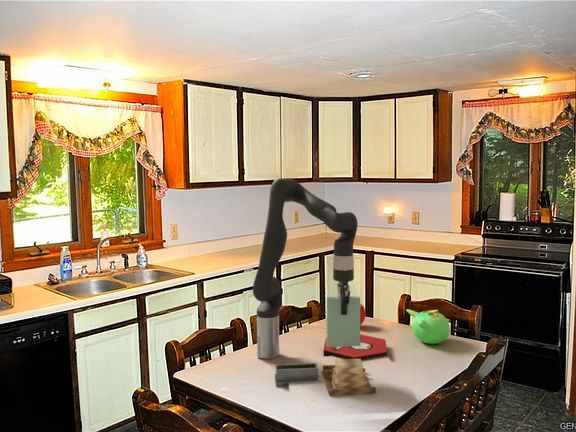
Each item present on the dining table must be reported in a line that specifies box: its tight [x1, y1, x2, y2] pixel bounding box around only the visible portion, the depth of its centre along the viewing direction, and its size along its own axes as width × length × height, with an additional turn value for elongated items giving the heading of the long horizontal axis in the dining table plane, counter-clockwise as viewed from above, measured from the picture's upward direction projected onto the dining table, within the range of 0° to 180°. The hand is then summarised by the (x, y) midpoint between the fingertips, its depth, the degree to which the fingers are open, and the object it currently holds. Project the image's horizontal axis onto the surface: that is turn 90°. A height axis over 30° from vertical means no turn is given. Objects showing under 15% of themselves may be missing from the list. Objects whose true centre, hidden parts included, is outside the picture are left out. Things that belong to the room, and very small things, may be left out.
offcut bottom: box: [332, 375, 367, 389], centre depth 186 cm, size 11×8×3 cm
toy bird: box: [405, 308, 451, 345], centre depth 235 cm, size 18×17×15 cm
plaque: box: [323, 333, 388, 361], centre depth 226 cm, size 27×4×30 cm
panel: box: [326, 295, 361, 347], centre depth 195 cm, size 12×2×18 cm, turn 94°
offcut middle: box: [333, 368, 367, 384], centre depth 186 cm, size 10×7×3 cm
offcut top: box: [334, 358, 364, 374], centre depth 186 cm, size 9×6×3 cm, turn 90°
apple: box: [360, 303, 366, 327], centre depth 259 cm, size 10×10×12 cm
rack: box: [320, 364, 377, 397], centre depth 191 cm, size 16×21×4 cm
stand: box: [274, 362, 321, 387], centre depth 196 cm, size 16×8×6 cm, turn 94°
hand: (343, 313), depth 195 cm, fingers closed on panel, 2 cm apart
